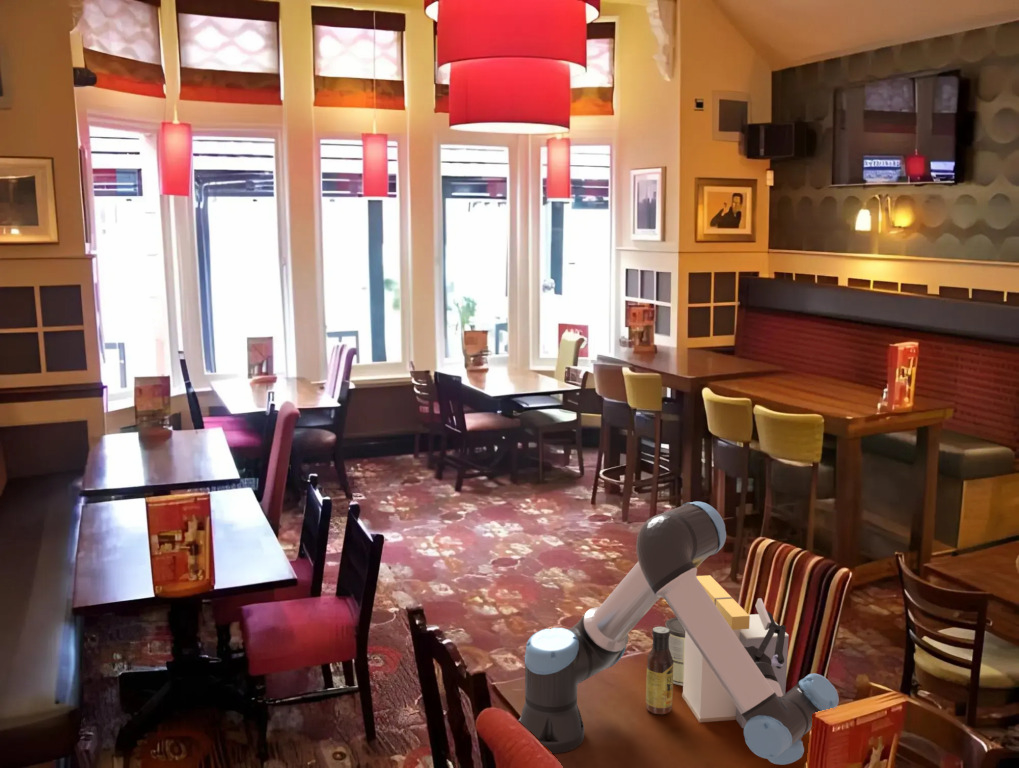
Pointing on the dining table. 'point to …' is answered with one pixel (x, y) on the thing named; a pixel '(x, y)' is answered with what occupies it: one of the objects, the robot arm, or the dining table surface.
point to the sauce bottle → (659, 673)
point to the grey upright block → (755, 638)
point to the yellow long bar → (725, 604)
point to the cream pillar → (705, 687)
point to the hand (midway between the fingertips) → (729, 603)
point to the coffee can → (677, 648)
